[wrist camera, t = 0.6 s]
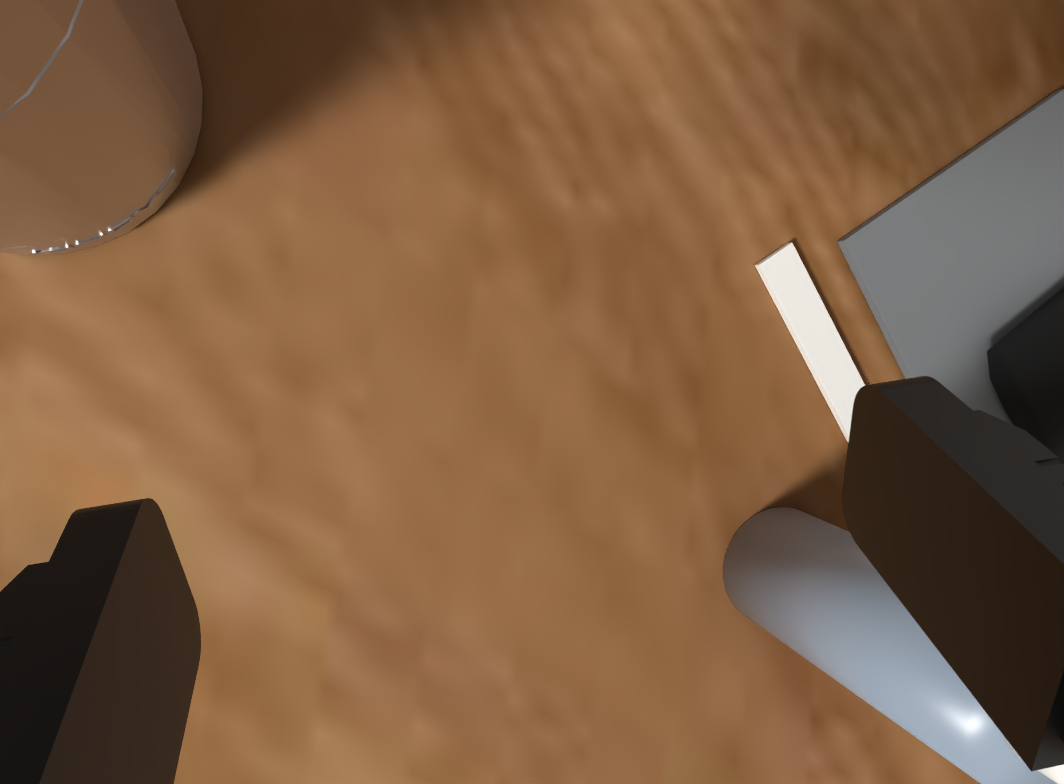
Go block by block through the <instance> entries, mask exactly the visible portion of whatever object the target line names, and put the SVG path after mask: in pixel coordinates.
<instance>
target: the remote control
mask: <svg viewBox="0 0 1064 784" xmlns="http://www.w3.org/2000/svg"><path fill="white" fill-rule="evenodd" d="M987 358H988V367H989V376H990V380H991V382H992V384H993V387H994V389H995V391H996V393H997V395H998V397H999V399H1000V402H1001V404H1002V406H1003V408H1004V409H1005V411H1006V413H1007V415H1008V416H1009V418H1010V420H1011V421H1012V423H1013V425H1014V426H1017V427H1019V428H1021V429H1023V430H1025V431H1027V432H1028V433H1029V434H1030V435H1032V436H1033V437H1034V438H1035V439H1037V440H1038V441H1039V442H1040V443H1042V444H1043V445H1044V446H1045V447H1047V448H1048V449H1049V450H1050V451H1052V452H1053V453H1054V454H1055V455H1057V456H1058V457H1059V462H1060V463H1061V464H1062V463H1064V287H1063V288H1062V289H1060V290H1059V291H1058V292H1057V293H1056V294H1054V295H1053V296H1052V297H1051V298H1050V299H1048V300H1047V301H1046V302H1045V303H1044V304H1042V305H1041V306H1040V307H1039V308H1038V309H1036V310H1035V311H1034V312H1033V313H1032V314H1031V315H1029V316H1028V317H1027V318H1026V319H1025V320H1023V321H1022V322H1021V323H1020V324H1019V325H1017V326H1016V327H1015V328H1014V329H1013V330H1011V331H1010V332H1009V333H1008V334H1007V335H1005V336H1004V337H1003V338H1002V339H1001V340H999V341H998V342H997V343H996V344H995V345H994V346H992V347H991V348H990V349H989V350H988V351H987Z"/></svg>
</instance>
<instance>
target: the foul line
mask: <svg viewBox="0 0 1064 784" xmlns="http://www.w3.org/2000/svg"><path fill="white" fill-rule="evenodd" d="M755 267H756V268H757V270H758V272H759V274H760V276H761V278H762V280H763V282H764V284H765V286H766V288H767V289H768V291H769V293H770V295H771V297H772V299H773V301H774V303H775V305H776V307H777V308H778V310H779V312H780V314H781V316H782V318H783V320H784V322H785V324H786V326H787V328H788V329H789V331H790V333H791V335H792V337H793V339H794V341H795V343H796V345H797V347H798V348H799V350H800V352H801V354H802V356H803V358H804V360H805V362H806V364H807V366H808V368H809V369H810V371H811V373H812V375H813V377H814V379H815V381H816V383H817V385H818V387H819V388H820V390H821V392H822V394H823V396H824V398H825V400H826V402H827V404H828V406H829V408H830V409H831V411H832V413H833V415H834V417H835V419H836V421H837V423H838V425H839V427H840V428H841V430H842V432H843V434H844V436H845V438H846V440H847V442H848V443H849V435H850V427H851V419H852V410H853V404H854V399H855V396H856V394H857V392H858V391H859V389H860V388H861V387H863V386H865V384H864V382H863V380H862V378H861V376H860V374H859V372H858V370H857V369H856V367H855V365H854V363H853V361H852V359H851V357H850V355H849V353H848V351H847V349H846V347H845V345H844V343H843V341H842V339H841V337H840V335H839V333H838V331H837V329H836V327H835V325H834V323H833V321H832V320H831V318H830V316H829V314H828V312H827V310H826V308H825V306H824V304H823V302H822V300H821V298H820V296H819V294H818V292H817V290H816V288H815V286H814V284H813V282H812V280H811V278H810V276H809V274H808V272H807V270H806V269H805V267H804V265H803V263H802V261H801V259H800V257H799V255H798V253H797V251H796V249H795V247H794V245H793V243H792V242H791V243H787V244H785V245H784V246H782V247H781V248H779V249H778V250H776V251H775V252H773V253H772V254H771V255H769V256H768V257H766V258H765V259H763V260H762V261H760V262H759V263H757V264H756V265H755Z"/></svg>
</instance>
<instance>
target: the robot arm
mask: <svg viewBox="0 0 1064 784" xmlns="http://www.w3.org/2000/svg"><path fill="white" fill-rule="evenodd" d="M202 99H203V89H202V83H201V78H200V73H199V68H198V63H197V58H196V54H195V51H194V49H193V46H192V44H191V41H190V38H189V36H188V33H187V31H186V28H185V26H184V23H183V20H182V18H181V15H180V12H179V9H178V7H177V4H176V1H175V0H0V251H1V252H8V253H15V254H22V255H33V254H64V253H68V252H73V251H77V250H82V249H86V248H91V247H96V246H99V245H101V244H103V243H105V242H108V241H110V240H112V239H114V238H116V237H119V236H121V235H123V234H125V233H128V232H130V231H131V230H132V229H134V228H135V227H136V226H138V225H139V224H140V223H142V222H143V221H144V220H146V219H147V218H148V217H150V216H151V215H152V214H154V213H155V212H157V210H158V209H159V208H160V207H161V206H162V205H163V203H164V202H165V201H166V200H167V199H168V198H169V196H170V195H171V194H172V193H173V192H174V191H175V189H176V188H177V187H178V186H179V184H180V182H181V180H182V178H183V176H184V174H185V172H186V170H187V168H188V166H189V165H190V163H191V161H192V159H193V157H194V153H195V149H196V145H197V141H198V137H199V133H200V130H201V126H202ZM842 501H843V510H844V515H845V519H846V523H847V526H848V529H849V531H850V533H851V536H852V537H853V539H854V541H855V543H856V544H857V546H858V547H859V548H860V550H861V551H862V552H863V553H864V555H865V556H866V557H867V559H868V560H869V561H870V563H871V564H872V565H873V566H874V568H875V569H876V570H877V572H878V573H879V574H880V576H881V577H882V578H883V579H884V581H885V582H886V583H887V585H888V586H889V587H890V589H891V590H892V591H893V592H894V594H895V595H896V596H897V598H898V599H899V600H900V602H901V603H902V604H903V605H904V607H905V608H906V609H907V611H908V612H909V613H910V615H911V616H912V617H913V618H914V620H915V621H916V622H917V624H918V625H919V626H920V628H921V629H922V630H923V631H924V633H925V634H926V635H927V637H928V638H929V639H930V641H931V642H932V643H933V644H934V646H935V647H936V648H937V650H938V651H939V652H940V653H941V655H942V656H943V657H944V659H945V660H946V661H947V663H948V664H949V665H950V666H951V668H952V669H953V670H954V672H955V673H956V674H957V676H958V677H959V678H960V679H961V681H962V682H963V683H964V685H965V686H966V687H967V689H968V690H969V691H970V692H971V694H972V695H973V696H974V698H975V699H976V700H977V702H978V703H979V704H980V705H981V707H982V708H983V709H984V711H985V712H986V713H987V715H988V716H989V717H990V718H991V720H992V721H993V722H994V724H995V725H996V726H997V728H998V729H999V730H1000V731H1001V733H1002V734H1003V735H1004V737H1005V738H1006V739H1007V741H1008V742H1009V743H1010V744H1011V746H1012V747H1013V748H1014V750H1015V751H1016V752H1017V754H1018V755H1019V756H1020V757H1021V759H1022V760H1023V761H1024V763H1025V764H1026V765H1027V767H1028V768H1029V769H1030V770H1031V771H1036V770H1040V769H1045V768H1050V767H1054V766H1059V765H1064V463H1062V464H1061V463H1060V462H1059V457H1058V456H1057V455H1055V454H1054V453H1053V452H1052V451H1050V450H1049V449H1048V448H1047V447H1045V446H1044V445H1043V444H1042V443H1040V442H1039V441H1038V440H1037V439H1035V438H1034V437H1033V436H1032V435H1030V434H1029V433H1028V432H1027V431H1025V430H1023V429H1021V428H1019V427H1017V426H1014V425H1012V424H1010V423H1008V422H1005V421H1003V420H1001V419H999V418H997V417H994V416H992V415H990V414H988V413H985V412H983V411H981V410H975V411H973V410H972V409H971V408H970V407H968V406H967V405H966V404H965V403H964V402H962V401H961V400H960V399H959V398H958V397H956V396H955V395H954V394H953V393H952V392H950V391H949V390H948V389H947V388H946V387H944V386H943V385H942V384H941V383H940V382H938V381H937V380H936V379H934V378H932V377H929V376H921V377H914V378H908V379H902V380H896V381H889V382H883V383H877V384H871V385H865V386H863V387H861V388H860V389H859V391H858V392H857V394H856V396H855V399H854V404H853V410H852V419H851V427H850V435H849V443H848V451H847V459H846V467H845V475H844V484H843V493H842ZM200 652H201V633H200V623H199V617H198V612H197V608H196V604H195V601H194V598H193V595H192V593H191V590H190V587H189V584H188V582H187V579H186V576H185V573H184V571H183V568H182V565H181V563H180V560H179V557H178V554H177V552H176V549H175V546H174V543H173V541H172V538H171V535H170V532H169V530H168V527H167V524H166V522H165V519H164V516H163V514H162V511H161V509H160V508H159V506H158V504H157V503H156V502H155V501H154V500H153V499H150V498H147V499H140V500H134V501H128V502H122V503H115V504H109V505H103V506H97V507H90V508H84V509H78V510H76V511H75V512H74V513H73V514H72V515H71V517H70V518H69V520H68V522H67V524H66V527H65V529H64V531H63V533H62V535H61V537H60V539H59V541H58V543H57V546H56V548H55V550H54V552H53V554H52V556H51V558H50V560H49V562H45V563H39V564H33V565H28V566H27V567H25V568H24V569H23V570H22V571H21V572H20V573H19V574H18V575H17V576H16V577H15V578H14V579H13V580H12V581H11V582H10V583H9V584H8V585H7V586H6V587H5V588H4V589H3V590H2V591H1V592H0V784H173V783H174V779H175V774H176V769H177V765H178V760H179V755H180V750H181V746H182V741H183V736H184V732H185V727H186V722H187V717H188V713H189V708H190V703H191V699H192V694H193V689H194V684H195V680H196V675H197V670H198V666H199V660H200Z"/></svg>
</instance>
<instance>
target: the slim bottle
mask: <svg viewBox="0 0 1064 784" xmlns="http://www.w3.org/2000/svg"><path fill="white" fill-rule="evenodd" d="M723 579H724V584H725V588H726V591H727V594H728V596H729V598H730V600H731V602H732V603H733V604H734V606H735V607H736V608H737V609H738V610H739V611H740V612H741V613H742V614H744V615H745V616H746V617H748V618H749V619H751V620H752V621H753V622H755V623H756V624H758V625H759V626H761V627H762V628H763V629H765V630H766V631H768V632H769V633H770V634H772V635H773V636H775V637H776V638H777V639H779V640H780V641H782V642H783V643H784V644H786V645H787V646H789V647H790V648H791V649H793V650H794V651H796V652H797V653H798V654H800V655H801V656H803V657H804V658H805V659H807V660H808V661H810V662H811V663H812V664H814V665H815V666H817V667H818V668H819V669H821V670H822V671H824V672H825V673H827V674H828V675H829V676H831V677H832V678H834V679H835V680H836V681H838V682H839V683H841V684H842V685H843V686H845V687H846V688H848V689H849V690H850V691H852V692H853V693H855V694H856V695H857V696H859V697H860V698H862V699H863V700H864V701H866V702H867V703H869V704H870V705H871V706H873V707H874V708H876V709H877V710H878V711H880V712H881V713H883V714H884V715H885V716H887V717H888V718H890V719H891V720H893V721H894V722H895V723H897V724H898V725H900V726H901V727H902V728H904V729H905V730H907V731H908V732H909V733H911V734H912V735H914V736H915V737H916V738H918V739H919V740H921V741H922V742H923V743H925V744H926V745H928V746H929V747H930V748H932V749H933V750H935V751H936V752H937V753H939V754H940V755H942V756H943V757H944V758H946V759H947V760H949V761H950V762H951V763H953V764H954V765H956V766H957V767H959V768H960V769H961V770H963V771H964V772H966V773H967V774H968V775H970V776H971V777H973V778H974V779H975V780H977V781H978V782H980V783H981V784H1064V765H1059V766H1054V767H1050V768H1045V769H1040V770H1036V771H1031V770H1030V769H1029V768H1028V767H1027V765H1026V764H1025V763H1024V761H1023V760H1022V759H1021V757H1020V756H1019V755H1018V754H1017V752H1016V751H1015V750H1014V748H1013V747H1012V746H1011V744H1010V743H1009V742H1008V741H1007V739H1006V738H1005V737H1004V735H1003V734H1002V733H1001V731H1000V730H999V729H998V728H997V726H996V725H995V724H994V722H993V721H992V720H991V718H990V717H989V716H988V715H987V713H986V712H985V711H984V709H983V708H982V707H981V705H980V704H979V703H978V702H977V700H976V699H975V698H974V696H973V695H972V694H971V692H970V691H969V690H968V689H967V687H966V686H965V685H964V683H963V682H962V681H961V679H960V678H959V677H958V676H957V674H956V673H955V672H954V670H953V669H952V668H951V666H950V665H949V664H948V663H947V661H946V660H945V659H944V657H943V656H942V655H941V653H940V652H939V651H938V650H937V648H936V647H935V646H934V644H933V643H932V642H931V641H930V639H929V638H928V637H927V635H926V634H925V633H924V631H923V630H922V629H921V628H920V626H919V625H918V624H917V622H916V621H915V620H914V618H913V617H912V616H911V615H910V613H909V612H908V611H907V609H906V608H905V607H904V605H903V604H902V603H901V602H900V600H899V599H898V598H897V596H896V595H895V594H894V592H893V591H892V590H891V589H890V587H889V586H888V585H887V583H886V582H885V581H884V579H883V578H882V577H881V576H880V574H879V573H878V572H877V570H876V569H875V568H874V566H873V565H872V564H871V563H870V561H869V560H868V559H867V557H866V556H865V555H864V553H863V552H862V551H861V550H860V548H859V547H858V546H857V544H856V543H855V541H854V539H853V537H852V536H851V533H850V532H849V531H846V530H844V529H842V528H839V527H837V526H835V525H832V524H830V523H828V522H825V521H823V520H821V519H818V518H816V517H814V516H811V515H809V514H807V513H804V512H802V511H800V510H797V509H794V508H789V507H776V508H770V509H767V510H764V511H762V512H759V513H757V514H756V515H754V516H752V517H751V518H750V519H748V520H747V521H746V522H745V523H744V524H743V525H742V526H741V527H740V528H739V529H738V530H737V532H736V533H735V535H734V536H733V538H732V540H731V541H730V543H729V546H728V548H727V551H726V554H725V558H724V564H723Z"/></svg>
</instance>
